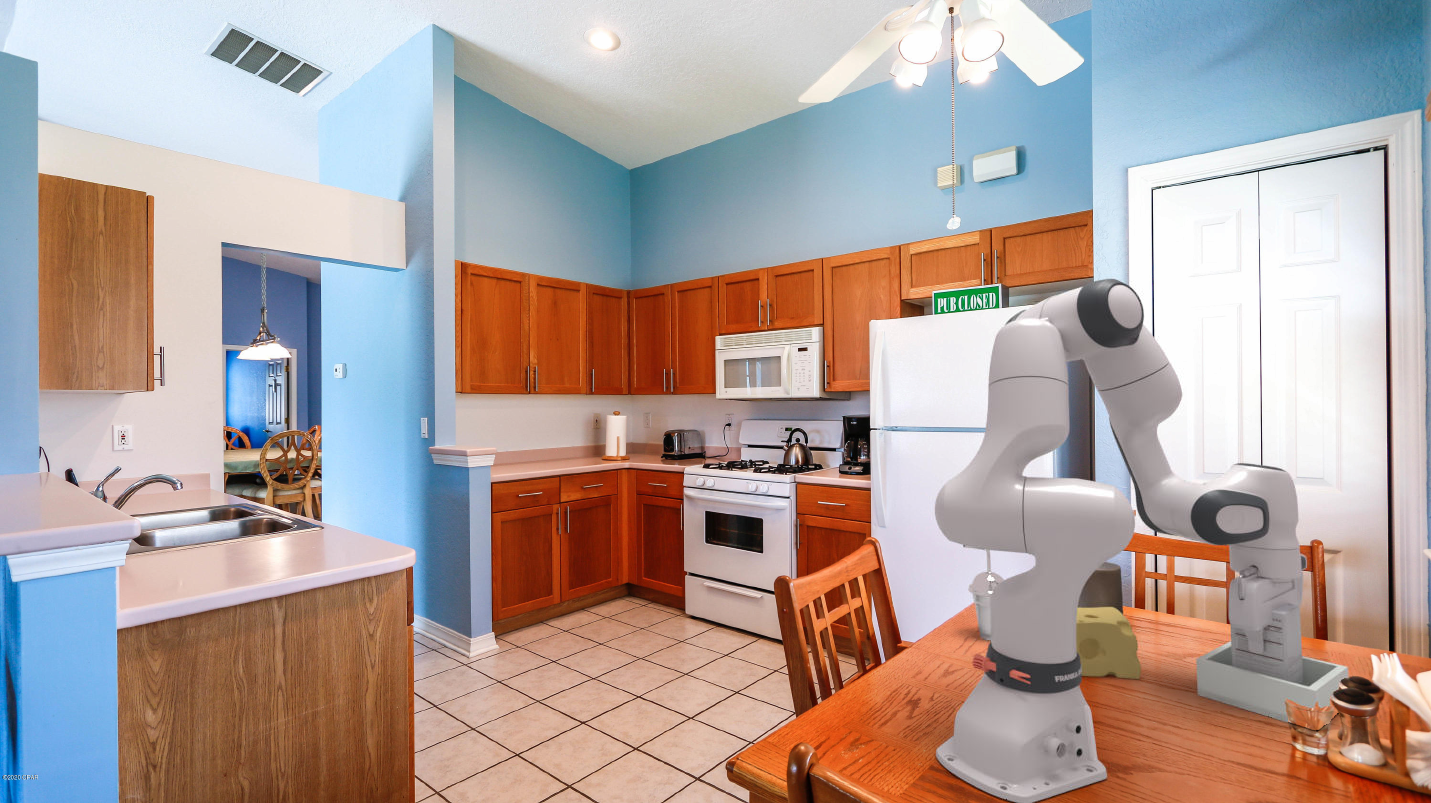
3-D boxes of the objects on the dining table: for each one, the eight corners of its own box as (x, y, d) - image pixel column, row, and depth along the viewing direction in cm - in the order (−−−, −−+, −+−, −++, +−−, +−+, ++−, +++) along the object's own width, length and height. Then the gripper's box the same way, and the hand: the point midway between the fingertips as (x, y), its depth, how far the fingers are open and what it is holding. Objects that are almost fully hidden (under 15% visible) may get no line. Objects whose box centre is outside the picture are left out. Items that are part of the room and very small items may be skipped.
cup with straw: (1013, 646, 129) (1009, 548, 129) (965, 640, 133) (962, 545, 133) (1013, 632, 137) (1009, 540, 137) (968, 627, 141) (965, 538, 141)
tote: (1317, 731, 93) (1315, 690, 93) (1197, 694, 106) (1196, 658, 106) (1349, 704, 101) (1348, 666, 101) (1234, 673, 114) (1233, 639, 114)
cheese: (1141, 680, 112) (1139, 623, 112) (1075, 677, 114) (1073, 621, 114) (1116, 657, 122) (1114, 606, 122) (1056, 655, 124) (1054, 604, 124)
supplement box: (1248, 667, 109) (1245, 594, 109) (1304, 683, 102) (1302, 604, 103) (1230, 677, 105) (1228, 601, 105) (1288, 694, 99) (1285, 612, 99)
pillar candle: (1135, 632, 135) (1132, 561, 136) (1097, 636, 133) (1093, 565, 134) (1099, 618, 145) (1095, 552, 145) (1062, 622, 143) (1059, 556, 143)
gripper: (1264, 575, 96) (1268, 667, 95) (1310, 556, 107) (1313, 638, 106) (1214, 567, 101) (1217, 654, 101) (1263, 549, 112) (1266, 627, 112)
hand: (1267, 645), depth 104 cm, fingers closed on supplement box, 7 cm apart
